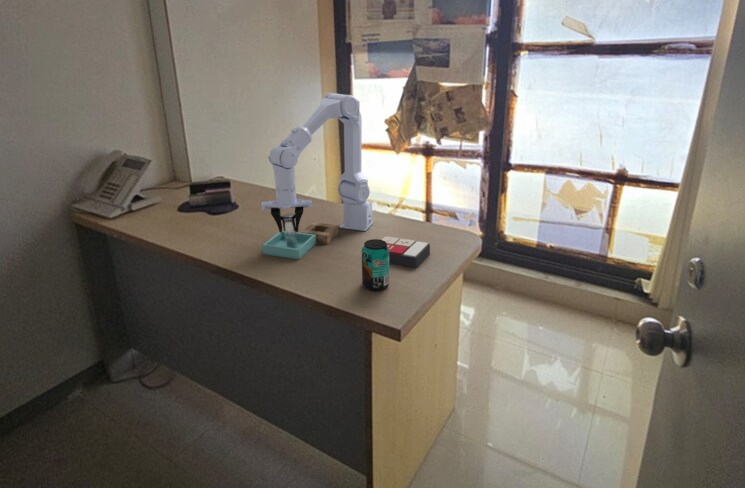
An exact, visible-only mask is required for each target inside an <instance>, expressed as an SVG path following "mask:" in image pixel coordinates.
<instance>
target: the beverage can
mask: <svg viewBox="0 0 745 488" xmlns="http://www.w3.org/2000/svg"><path fill="white" fill-rule="evenodd" d="M363 244H364V245H363V247H362V248H361V281H362V282H361V285H363V287H364V288H365V289H367V290H369V291H374V292H377V291H378V292H379V291H383V290H384V289H386V288H388V287H389V285H390V263H389V248H388V247H387V243H386V242H385V241H383V240H382V239H378V238H375V239H374V238H373V239H368V240H366V241H365V242H364V243H363Z"/></svg>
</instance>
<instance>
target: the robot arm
mask: <svg viewBox="0 0 745 488" xmlns="http://www.w3.org/2000/svg"><path fill="white" fill-rule="evenodd" d="M319 103H320V104H319V106H318V107H317V109H316V110H315V111H313V114H312V115H311V116H310V117H309V118H308V120H307V121H306V122H305V123H304V124H303V125H302V126H296V127H293V128H292V129H291V133H289V135H287V137H286V138H285V139H284V140H283V139H282V140H281V142H280V144H279V145H278V144H277V145H275V146H273V148H272V149H271V150H270V151H269V156H267V157H268V158H267V159H268V161H269V163H270V164H271V165H272V170H273V174H274V175H273V177H274V185H275V187H274V188H275V196H276V197H275V198H276V200H275V199H274V200H268V201H262V202H261V211H266V210H270V215H271V216H272V218H273V219H274V222H275V224H276V226H277V227H278V233H279V232H280V233H282V230H283V222H282V220H281V218H280V217H281V216H282V215H281V209H284V210H287V209H289V210H290V209H294V214H295V219H294V220H295V226H296V232H298V233H299V227H300V222H301V219H302V217H303V213H304V209H305V208H307V209H313V203H312V199H299V198H298V199H297V189H296V179H295V166H296V165H297V164H298V160H299V157H300V154H301V153H302V152H303V151H304V150H305V148H307V147H308V146H309V144H310V143H312V140H313V139H312V136H313V134H314V133H315V132H317V131H318V129H320V128H321V127H322V126H323V125H324V124H325V123H326V122H327V121H328V120H329V119H335V118H337V119H338V120H339V121H341V123H343V133H344V135H343V136H344V138H343V141H344V144H343V145H344V147H343V148H344V150H343V152H344V172H343V173H341V175H340V176H339V184H338V186H337V191H338V192H337V193H338V195H340V197H341V200H342V204H343V205H342V207H343V223H342V224H340V225H339V229H346V230H355V231H362V232H363V231H364V232H366V231H368V229H369V228H370V227H371V226H372V225H373V224H374V223H373V204H372V202H371V201H367V200H368V198H369V197H370V191H371V190H370V187H369V183H368V178H367V177H366V176H365V174H363V172H362V134H363V133H362V128H363V127H362V126H363V125H362V121H363V120H362V114H361V112H360V110H361V109H360V107H361V106H360V103H361V102H360V100H358V99H357V98H356V96H355V95H354V94H353V95H352V94H341V93H335V92H328V93H327V94H325V96H324V97H323V98H322V99H321V100H320V102H319Z"/></svg>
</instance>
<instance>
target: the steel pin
mask: <svg viewBox="0 0 745 488" xmlns="http://www.w3.org/2000/svg"><path fill="white" fill-rule="evenodd" d="M280 218H281V223H282V229H283V231H284V234H285V241H286V245H287V246H294V245H297V244H298V240H297V233H296V219H295V213H285V214H282V215H281V217H280Z"/></svg>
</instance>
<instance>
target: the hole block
mask: <svg viewBox="0 0 745 488" xmlns="http://www.w3.org/2000/svg"><path fill="white" fill-rule="evenodd" d="M300 233H306V234H314V235H316V242H317V244H322V245H329V244H330V242H332V241H333V240H334V239H335V238H336V237H337V236H338V234H339V225H338V224H332V223H331V224H330V223H323V222H322V223H321V222H311V223H310V224H308V226H306V227H305V228H304V229H303V230H301V231H300Z"/></svg>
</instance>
